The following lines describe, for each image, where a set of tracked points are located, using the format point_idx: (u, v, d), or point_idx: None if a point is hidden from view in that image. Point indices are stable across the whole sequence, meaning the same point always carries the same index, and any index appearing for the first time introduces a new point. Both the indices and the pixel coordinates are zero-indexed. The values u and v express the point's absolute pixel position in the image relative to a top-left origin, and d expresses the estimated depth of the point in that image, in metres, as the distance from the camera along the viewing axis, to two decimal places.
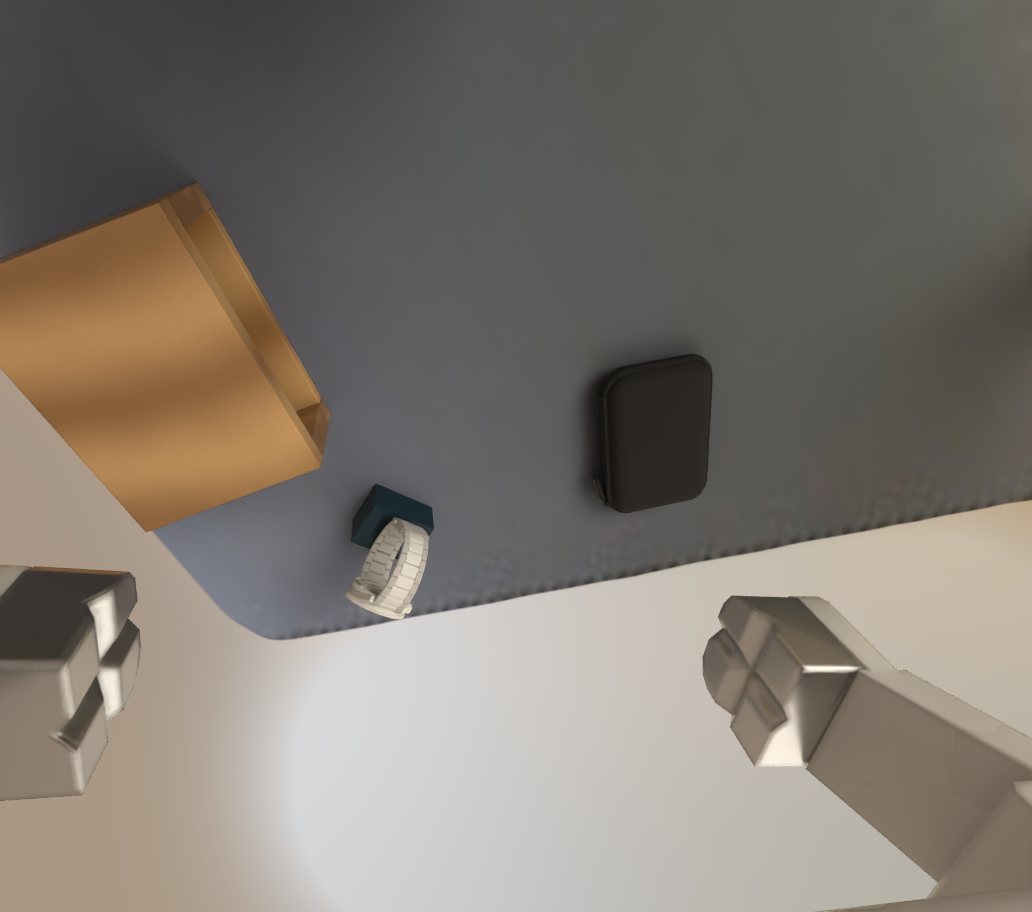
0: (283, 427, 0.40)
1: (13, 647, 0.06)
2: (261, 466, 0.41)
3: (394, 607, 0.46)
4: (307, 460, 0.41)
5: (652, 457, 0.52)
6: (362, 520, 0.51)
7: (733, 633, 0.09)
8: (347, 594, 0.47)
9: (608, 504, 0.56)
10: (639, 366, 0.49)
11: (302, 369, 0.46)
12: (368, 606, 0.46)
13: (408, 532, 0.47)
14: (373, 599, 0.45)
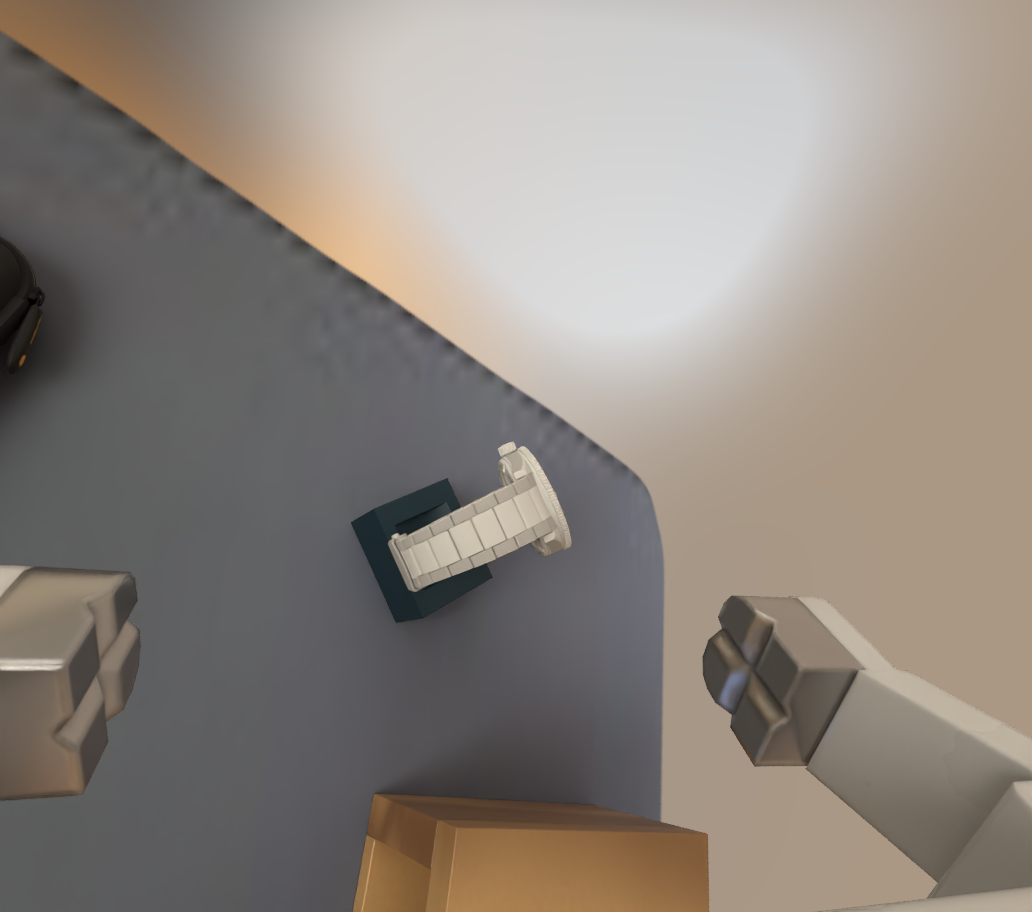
0: None
1: (13, 647, 0.06)
2: (532, 881, 0.22)
3: (531, 495, 0.24)
4: (466, 856, 0.21)
5: None
6: None
7: (733, 633, 0.09)
8: (565, 548, 0.27)
9: (33, 291, 0.24)
10: None
11: None
12: (560, 523, 0.25)
13: (414, 581, 0.24)
14: (548, 534, 0.24)
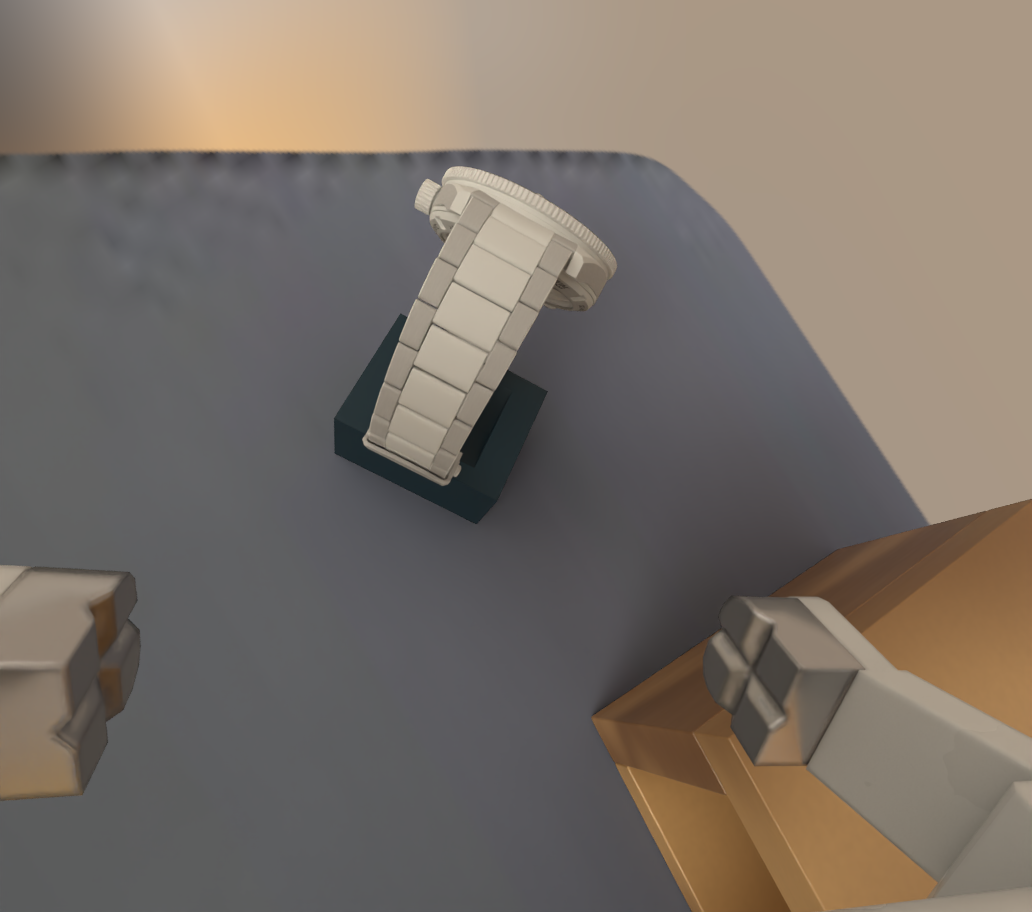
0: (846, 885, 0.13)
1: (13, 647, 0.06)
2: None
3: (501, 220, 0.13)
4: None
5: None
6: None
7: (733, 633, 0.09)
8: (611, 275, 0.16)
9: None
10: None
11: (663, 848, 0.19)
12: (577, 235, 0.14)
13: (435, 471, 0.14)
14: (570, 262, 0.13)
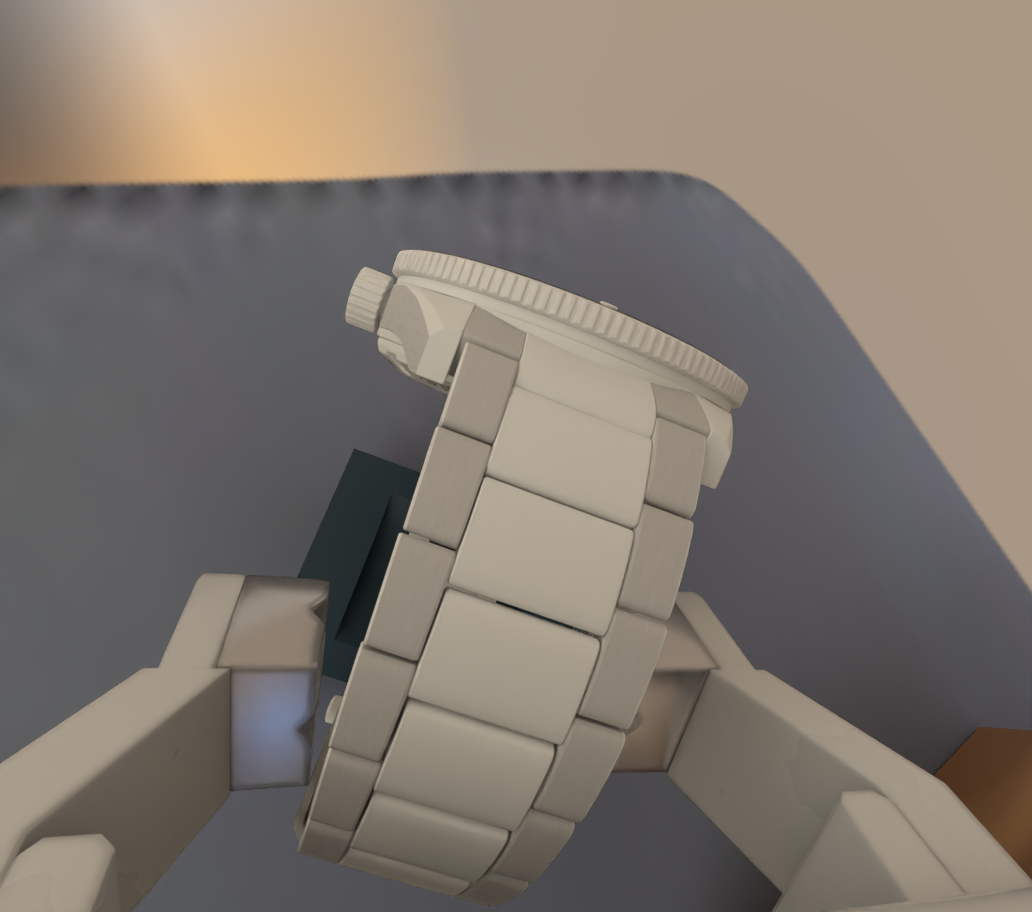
0: None
1: (268, 650, 0.06)
2: None
3: (540, 392, 0.05)
4: None
5: None
6: None
7: None
8: None
9: None
10: None
11: None
12: (694, 376, 0.06)
13: None
14: None
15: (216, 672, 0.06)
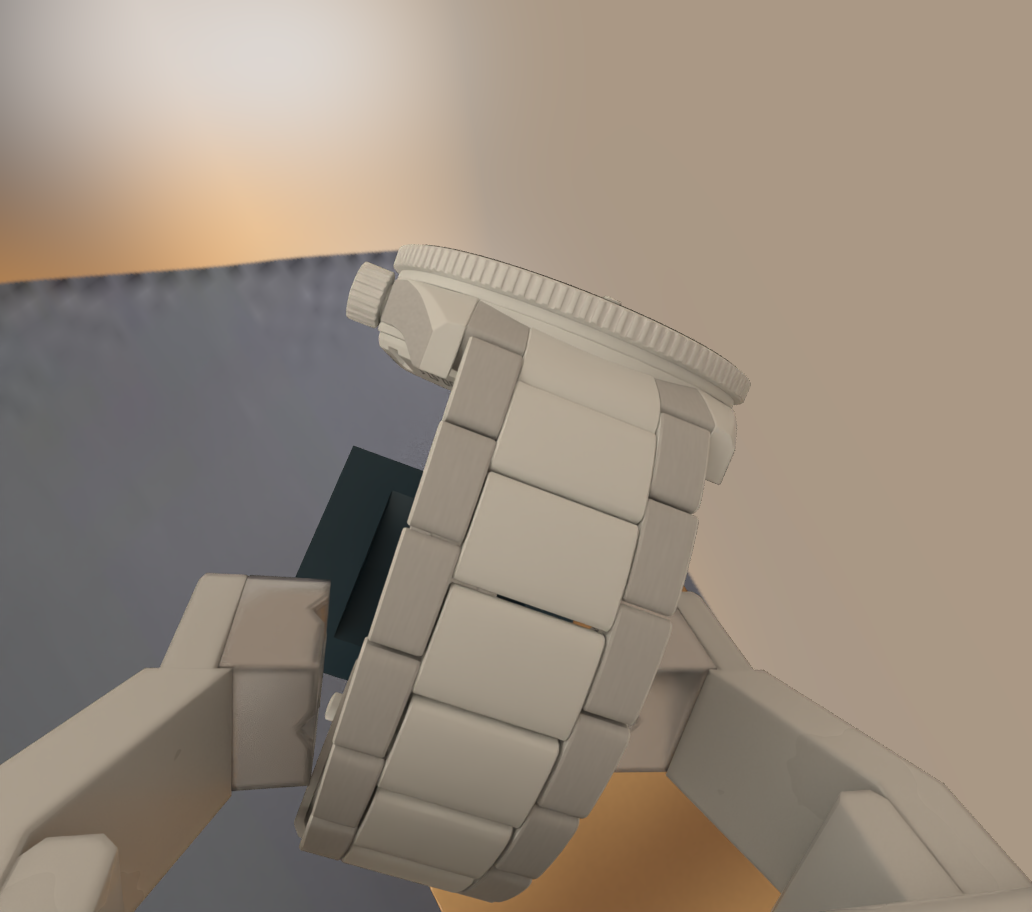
0: None
1: (270, 650, 0.06)
2: None
3: (544, 386, 0.05)
4: None
5: None
6: None
7: (598, 630, 0.08)
8: None
9: None
10: None
11: None
12: (697, 371, 0.06)
13: None
14: None
15: (218, 672, 0.06)
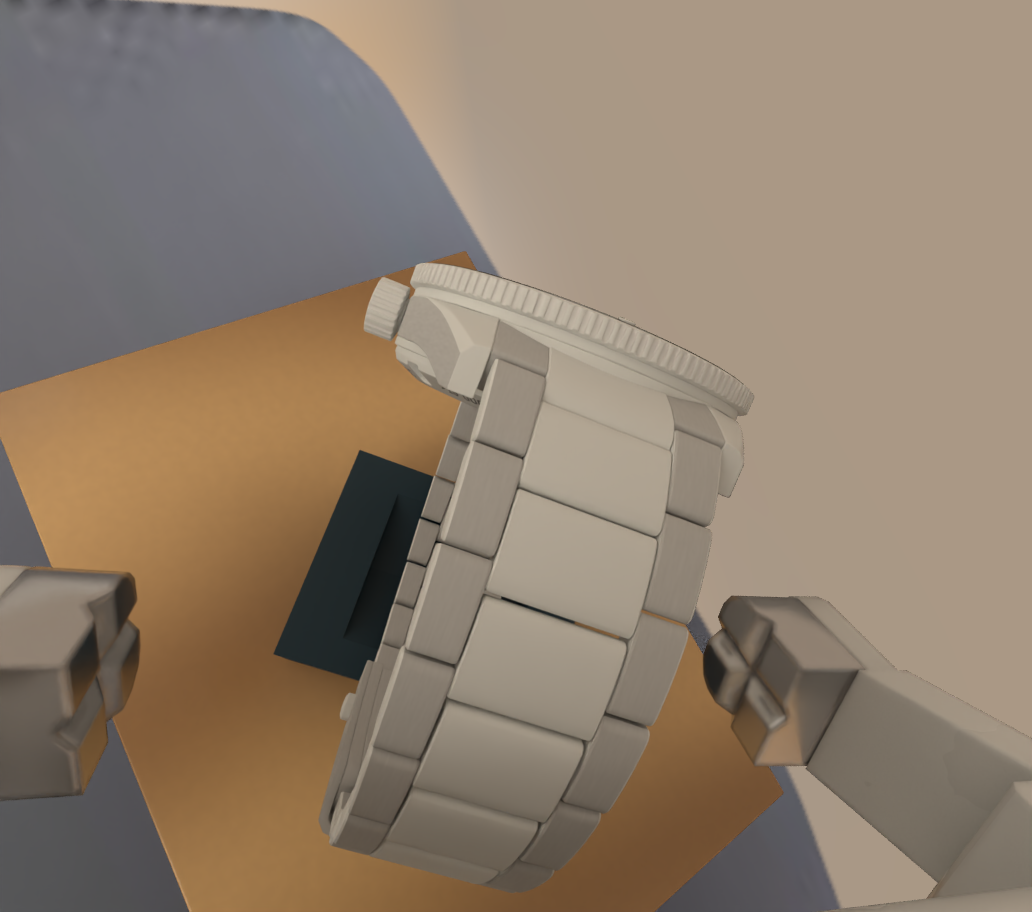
0: (75, 522, 0.14)
1: (13, 647, 0.06)
2: (168, 403, 0.15)
3: (567, 407, 0.06)
4: (22, 419, 0.14)
5: None
6: None
7: (733, 633, 0.09)
8: None
9: None
10: None
11: None
12: (706, 388, 0.07)
13: None
14: None
15: None
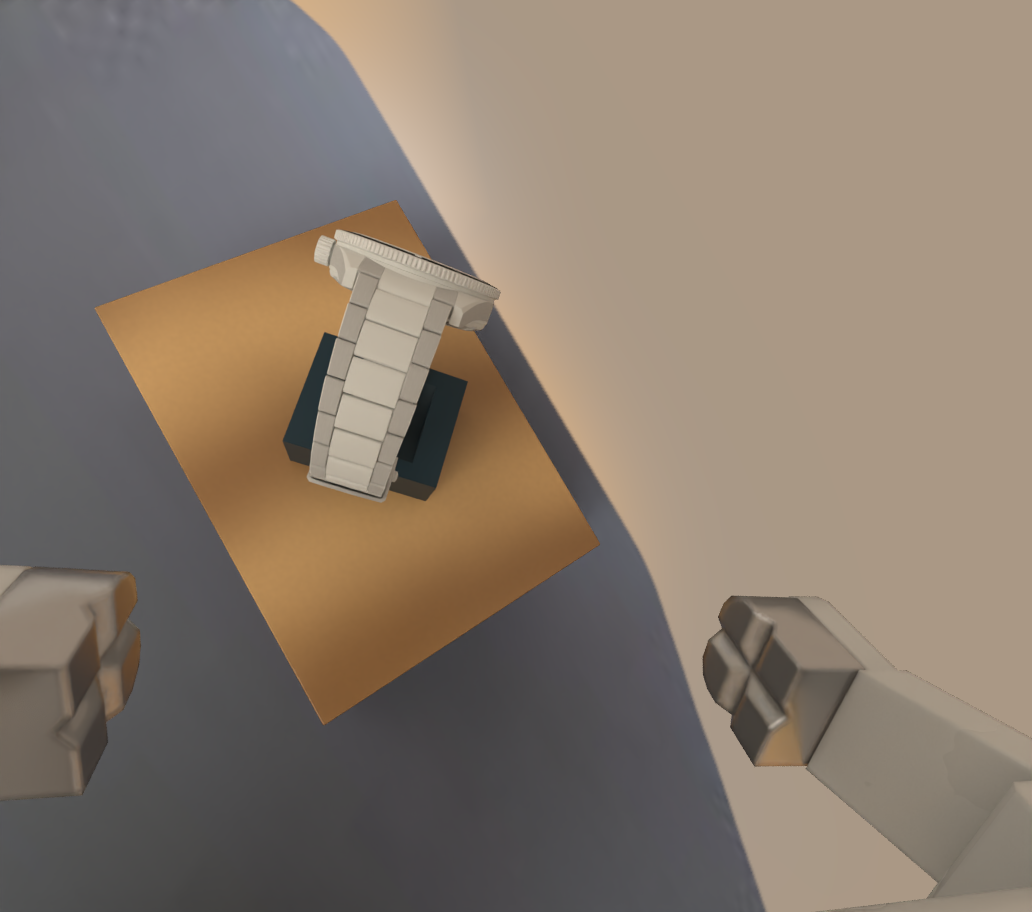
0: (158, 382, 0.23)
1: (13, 647, 0.06)
2: (204, 309, 0.24)
3: (386, 290, 0.15)
4: (119, 321, 0.23)
5: None
6: None
7: (733, 633, 0.09)
8: None
9: None
10: None
11: None
12: (457, 283, 0.16)
13: (371, 494, 0.17)
14: (451, 314, 0.15)
15: None
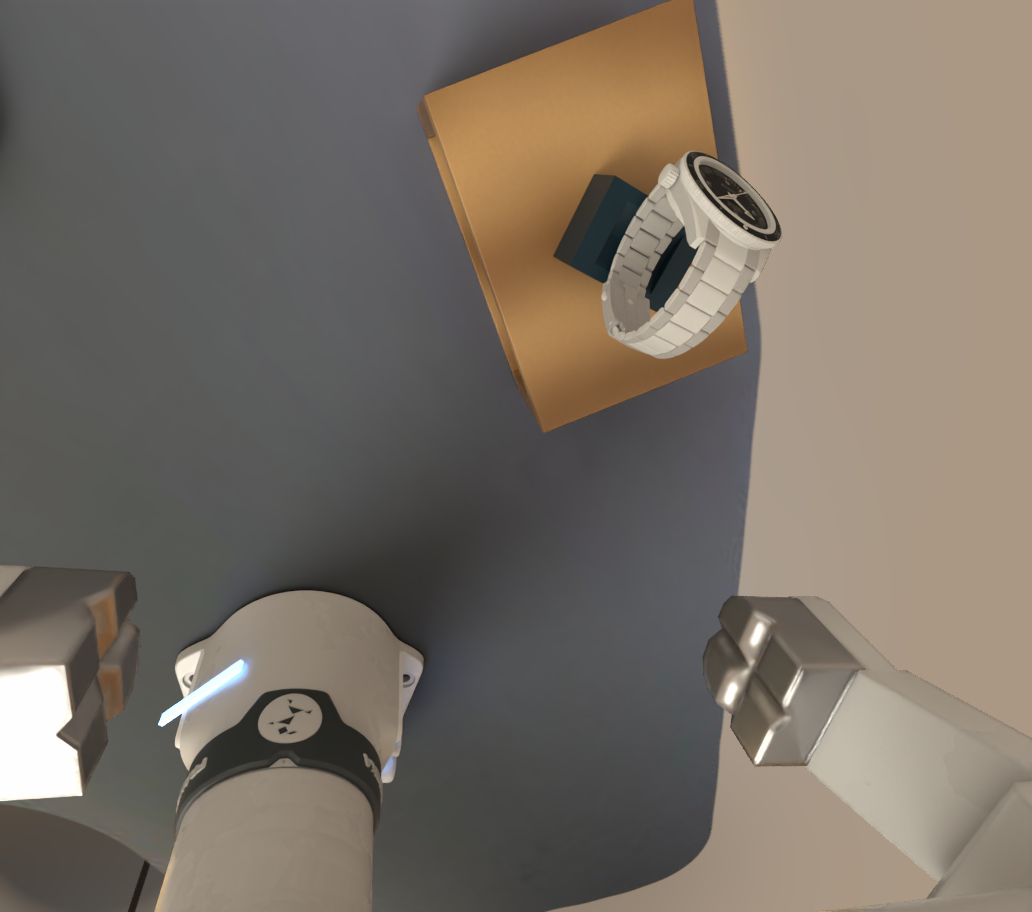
0: (468, 175, 0.29)
1: (13, 647, 0.06)
2: (508, 107, 0.28)
3: (718, 258, 0.22)
4: (442, 111, 0.28)
5: None
6: None
7: (733, 633, 0.09)
8: None
9: None
10: None
11: (445, 188, 0.36)
12: (761, 246, 0.22)
13: (644, 351, 0.27)
14: None
15: None
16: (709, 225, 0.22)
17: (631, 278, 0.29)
